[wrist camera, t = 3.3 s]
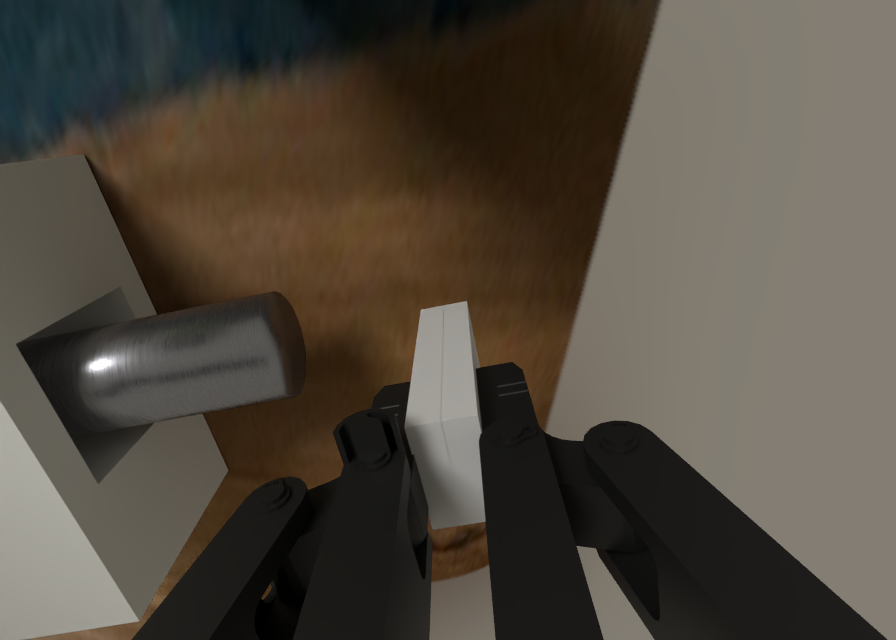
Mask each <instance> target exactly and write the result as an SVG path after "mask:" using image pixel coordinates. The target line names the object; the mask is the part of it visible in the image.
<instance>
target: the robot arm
mask: <svg viewBox="0 0 896 640" xmlns="http://www.w3.org/2000/svg"><path fill="white" fill-rule="evenodd" d="M333 435H334V437H335V440H336V443H337V446H338V449H339V452H340V455H341V458H342V461H343V464H344V466H343V470H342V473H341V476H340V477H338V478H336V479H334V480H332V481H330V482H328V483H325V484H323V485H320V486H317V487H315V488H312V489H310V490H308V489H307V487H306V484H305V483H304V482H303V481H302V480H301V479H300V478H294V477H285V478H278V479H275V480H273V481H270V482H267V483H265V484H264V485H262V486H261V487H259V488H257V489H256V490H254V491H253V492H252V493H251V494H250V495H249V496H248V497H247V498H246V499H245V500H244V501H243V503H242V504H241V505H240V506H239V508H238V509H237V510H236V511H235V513H234V514H233V515H232V516H231V518H230V519H229V520H228V521H227V522H226V524H225V525H224V526H223V527H222V529H221V530H220V531H219V532H218V534H217V535H216V536H215V537H214V539H213V540H212V541H211V542H210V544H209V545H208V546H207V547H206V548H205V550H204V551H203V552H202V553H201V555H200V556H199V557H198V558H197V560H196V561H195V562H194V563H193V565H192V566H191V567H190V568H189V570H188V571H187V572H186V573H185V574H184V576H183V577H182V578H181V579H180V581H179V582H178V583H177V584H176V586H175V587H174V588H173V589H172V591H171V592H170V593H169V594H168V596H167V597H166V598H165V599H164V600H163V602H162V603H161V604H160V605H159V607H158V608H157V609H156V610H155V612H154V613H153V614H152V615H151V617H150V618H149V619H148V620H147V621H146V623H145V624H144V625H143V626H142V628H141V629H140V630H139V631H138V633H137V634H136V635H135V636H134V638H133V639H132V640H429V631H430V603H431V574H432V545H431V541H430V537H429V533H428V530H427V528H428V514H429V518H430V522H431V525H432V529H433V530H434V529H440V528H447V527H453V526H460V525H466V524H473V523H479V522H486V532H487V544H488V556H489V567H490V579H491V590H492V602H493V613H494V624H495V637H496V640H604V639H603V636H602V633H601V629H600V626H599V622H598V619H597V615H596V612H595V609H594V605H593V602H592V598H591V595H590V591H589V588H588V584H587V581H586V577H585V574H584V571H583V567H582V564H581V560H580V557H579V553H578V550H577V547H576V546H583V547H590V548H596V549H597V552H598V554H599V557H600V558H601V560H602V561H603V563H604V564H605V566H606V567H607V569H608V570H609V572H610V573H611V575H612V576H613V578H614V579H615V581H616V582H617V584H618V585H619V587H620V588H621V590H622V591H623V593H624V594H625V596H626V597H627V599H628V600H629V602H630V603H631V605H632V606H633V608H634V609H635V611H636V612H637V614H638V615H639V617H640V618H641V620H642V621H643V623H644V624H645V626H646V627H647V629H648V630H649V632H650V633H651V635H652V636H653V638H654V639H655V640H887V639H886V638H885V637H884V636H883V635H881V634H880V633H879V632H878V631H877V630H876V629H875V628H873V626H871V625H870V624H869V623H868V622H867V621H866V620H865V619H863V618H862V617H861V616H860V615H859V614H858V613H857V612H855V611H854V610H853V609H852V608H851V607H850V606H849V605H848V604H846V603H845V602H844V601H843V600H842V599H841V598H840V597H838V596H837V595H836V594H835V593H834V592H833V591H832V590H831V589H829V588H828V587H827V586H826V585H825V584H824V583H823V582H821V581H820V580H819V579H818V578H817V577H816V576H815V575H814V574H812V573H811V572H810V571H809V570H808V569H807V568H806V567H805V566H803V565H802V564H801V563H800V562H799V561H798V560H797V559H795V558H794V557H793V556H792V555H791V554H790V553H789V552H788V551H786V550H785V549H784V548H783V547H782V546H781V545H780V544H778V543H777V542H776V541H775V540H774V539H773V538H772V537H771V536H769V535H768V534H767V533H766V532H765V531H764V530H762V529H761V528H760V527H759V526H758V525H757V524H756V523H755V522H753V521H752V520H751V519H750V518H749V517H748V516H747V515H746V514H744V513H743V512H742V511H741V510H740V509H739V508H738V507H736V506H735V505H734V504H733V503H732V502H731V501H730V500H729V499H728V498H726V497H725V496H724V495H723V494H722V493H721V492H720V491H718V490H717V489H716V488H715V487H714V486H713V485H712V484H711V483H709V482H708V481H707V480H706V479H705V478H704V477H703V476H701V475H700V474H699V473H698V472H697V471H696V470H695V469H694V468H692V467H691V466H690V465H689V464H688V463H687V462H686V461H684V460H683V459H682V458H681V457H680V456H679V455H678V454H676V453H675V452H674V451H673V450H672V449H671V448H670V447H669V446H667V445H666V444H665V443H664V442H663V441H662V440H660V439H659V438H658V437H657V436H656V435H655V434H654V433H653V432H652V431H650V430H649V429H647V428H645V427H643V426H642V425H640V424H636V423H632V422H629V421H610V422H605V423H601V424H599V425H597V426H594V427H593V428H591V429H590V430H589V431H588V432H587V433H586V434H585V436H584V440H583V441H570V440H561V439H559V438H555V437H552V436H550V435H549V434H547V433H545V432H544V431H543V430H542V429H541V428H540V426H539V424H538V422H537V418H536V415H535V411H534V408H533V404H532V401H531V398H530V394H529V391H528V387H527V384H526V380H525V377H524V373H523V370H522V369H521V368H519V367H518V366H517V365H516V364H514V363H513V362H510V363H504V364H498V365H493V366H487V367H481V368H480V365H479V360H478V355H477V350H476V345H475V340H474V335H473V330H472V325H471V320H470V315H469V310H468V305H467V301H465V302H460V303H454V304H449V305H444V306H438V307H433V308H428V309H423V310H421V313H420V320H419V327H418V334H417V341H416V349H415V356H414V363H413V370H412V377H411V382H405V383H399V384H394V385H388V386H384V387H383V388H382V389H381V391H380V392H379V393H378V394H377V395H376V396H375V397H374V401H373V405H372V409H368V410H364V411H360V412H357V413H355V414H353V415H351V416H349V417H347V418H345V419H344V420H343V421H342V422H341V423H339V424H338V425H337V427H336V428H335V430H334V431H333ZM270 584H271V586H272V589H271V591H270V592H269V594H268V595H267V597H266V598H265V599H264V600H262V599H261V597H262V596H263V594H264V593H265V591H266V589H267V588H268V586H269V585H270Z"/></svg>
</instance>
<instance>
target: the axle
mask: <svg viewBox="0 0 896 640" xmlns="http://www.w3.org/2000/svg"><path fill="white" fill-rule="evenodd" d="M16 346H17V347H18V349H19V351H20V353H21V354H22V356H23V358H24V359H25V361H26V363H27V364H28V366H29V368H30V370H31V371H32V373H33V375H34V376H35V378H36V380H37V381H38V383H39V385H40V387H41V388H42V390H43V392H44V393H45V395H46V397H47V398H48V400H49V402H50V403H51V405H52V407H53V409H54V410H55V412H56V414H57V415H58V417H59V419H60V420H61V422H62V424H63V426H64V427H65V429H66V431H67V432H68V434H69V436H70V437H71V438H74V437H79V436H85V435H90V434H95V433H101V432H106V431H112V430H117V429H123V428H128V427H133V426H139V425H144V424H150V423H155V422H160V421H166V420H171V419H177V418H182V417H188V416H193V415H198V414H204V413H209V412H215V411H220V410H225V409H231V408H236V407H242V406H247V405H253V404H258V403H263V402H269V401H274V400H280V399H285V398H291V397H295V396H297V395H298V394H299V393H300V392H301V390H302V388H303V385H304V382H305V376H306V351H305V344H304V339H303V334H302V331H301V327H300V324H299V321H298V318H297V316H296V314H295V312H294V310H293V308H292V306H291V304H290V303H289V301H288V300H287V299H286V298H285V297H284V296H283V295H282V294H281V293H279V292H268V293H263V294H258V295H253V296H248V297H243V298H238V299H233V300H228V301H223V302H218V303H213V304H208V305H203V306H198V307H193V308H188V309H183V310H178V311H173V312H168V313H163V314H158V315H153V316H148V317H143V318H138V319H133V320H128V321H123V322H118V323H113V324H108V325H103V326H98V327H93V328H88V329H83V330H78V331H73V332H68V333H63V334H58V335H53V336H48V337H43V338H38V339H32V340H27V341H22V342H19V343H17V344H16Z"/></svg>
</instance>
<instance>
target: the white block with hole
mask: <svg viewBox="0 0 896 640" xmlns="http://www.w3.org/2000/svg"><path fill="white" fill-rule="evenodd" d="M153 315H157V313H156V311H155V309H154V307H153V304H152V302H151V300H150V298H149V296H148V294H147V291H146V289H145V287H144V285H143V283H142V280H141V278H140V276H139V274H138V272H137V270H136V267H135V265H134V263H133V261H132V259H131V256H130V254H129V252H128V250H127V248H126V246H125V243H124V241H123V239H122V237H121V235H120V232H119V230H118V228H117V226H116V224H115V221H114V219H113V217H112V215H111V213H110V211H109V208H108V206H107V204H106V202H105V200H104V197H103V195H102V193H101V191H100V189H99V187H98V184H97V182H96V180H95V178H94V176H93V173H92V171H91V169H90V167H89V165H88V163H87V160H86V158H85V156H84V154H81V155H73V156H65V157H57V158H49V159H41V160H33V161H25V162H17V163H9V164H1V165H0V640H24V639H30V638H37V637H43V636H49V635H56V634H62V633H68V632H75V631H81V630H87V629H94V628H100V627H106V626H113V625H119V624H125V623H132V622H138V621H140V620H141V618H142V616H143V614H144V613H145V611H146V609H147V608H148V606H149V604H150V603H151V601H152V599H153V598H154V596H155V594H156V592H157V591H158V589H159V587H160V586H161V584H162V582H163V581H164V579H165V577H166V575H167V574H168V572H169V570H170V569H171V567H172V565H173V564H174V562H175V560H176V559H177V557H178V555H179V553H180V552H181V550H182V548H183V547H184V545H185V543H186V542H187V540H188V538H189V537H190V535H191V533H192V531H193V530H194V528H195V526H196V525H197V523H198V521H199V520H200V518H201V516H202V514H203V513H204V511H205V509H206V508H207V506H208V504H209V503H210V501H211V499H212V498H213V496H214V494H215V492H216V491H217V489H218V487H219V486H220V484H221V482H222V481H223V479H224V477H225V475H226V474H227V472H228V468H227V466H226V464H225V462H224V460H223V457H222V455H221V453H220V451H219V449H218V446H217V444H216V442H215V440H214V438H213V436H212V433H211V431H210V429H209V427H208V425H207V422H206V420H205V418H204V416H203V414H198V415H193V416H188V417H182V418H177V419H171V420H166V421H160V422H155V423H150V424H144V425H139V426H133V427H128V428H123V429H117V430H112V431H106V432H101V433H95V434H90V435H85V436H79V437H74V438H71V437H70V436H69V434H68V432H67V431H66V429H65V427H64V426H63V424H62V422H61V420H60V419H59V417H58V415H57V414H56V412H55V410H54V409H53V407H52V405H51V403H50V402H49V400H48V398H47V397H46V395H45V393H44V392H43V390H42V388H41V387H40V385H39V383H38V381H37V380H36V378H35V376H34V375H33V373H32V371H31V370H30V368H29V366H28V364H27V363H26V361H25V359H24V358H23V356H22V354H21V353H20V351H19V349H18V347H17V346H16V344H17V343H19V342H22V341H27V340H32V339H38V338H43V337H48V336H53V335H58V334H63V333H68V332H73V331H78V330H83V329H88V328H93V327H98V326H103V325H108V324H113V323H118V322H123V321H128V320H133V319H138V318H143V317H148V316H153Z"/></svg>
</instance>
